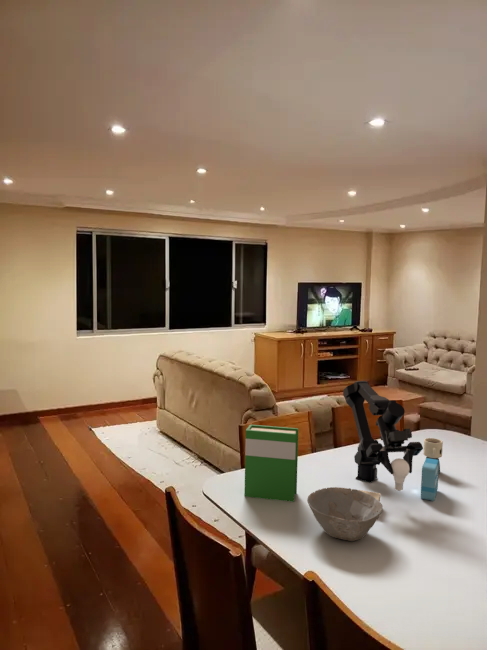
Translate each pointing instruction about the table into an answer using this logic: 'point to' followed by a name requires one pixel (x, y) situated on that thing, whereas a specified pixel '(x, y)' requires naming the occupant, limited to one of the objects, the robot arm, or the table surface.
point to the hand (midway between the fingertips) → (401, 473)
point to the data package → (429, 479)
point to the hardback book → (271, 462)
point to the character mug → (433, 448)
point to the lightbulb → (400, 472)
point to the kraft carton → (373, 494)
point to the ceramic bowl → (344, 511)
